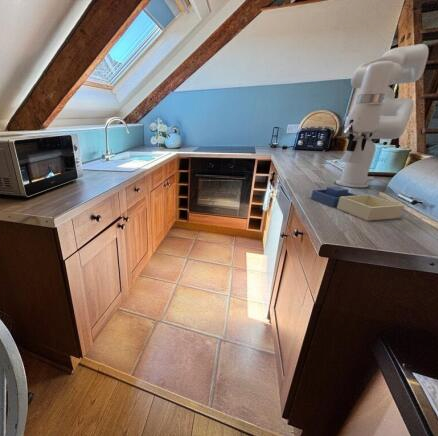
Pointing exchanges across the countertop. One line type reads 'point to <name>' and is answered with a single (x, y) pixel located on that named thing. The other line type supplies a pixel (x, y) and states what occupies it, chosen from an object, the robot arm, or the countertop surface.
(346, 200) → the cream bin
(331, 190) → the blue block
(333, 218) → the countertop surface
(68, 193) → the countertop surface
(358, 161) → the flask
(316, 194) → the blue bin
